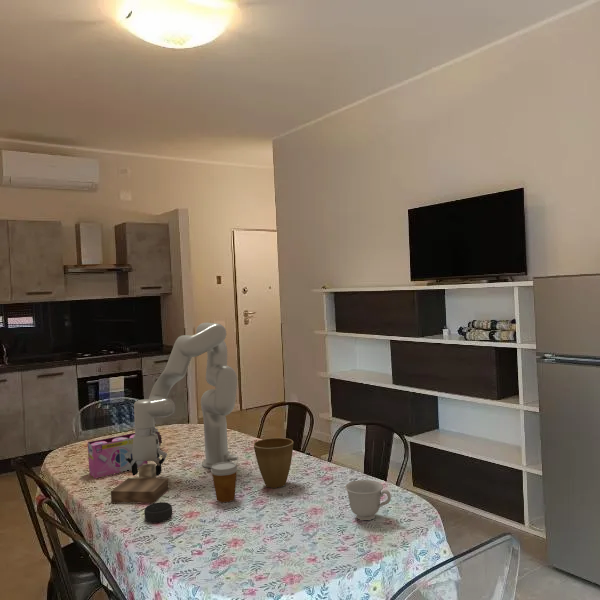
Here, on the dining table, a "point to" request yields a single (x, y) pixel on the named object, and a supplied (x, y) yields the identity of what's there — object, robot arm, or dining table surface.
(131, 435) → the gum box
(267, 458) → the plant pot
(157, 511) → the smart speaker
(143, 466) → the maple block
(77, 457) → the dining table surface
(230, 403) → the robot arm
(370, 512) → the teacup
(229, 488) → the disposable coffee cup
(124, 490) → the walnut base
